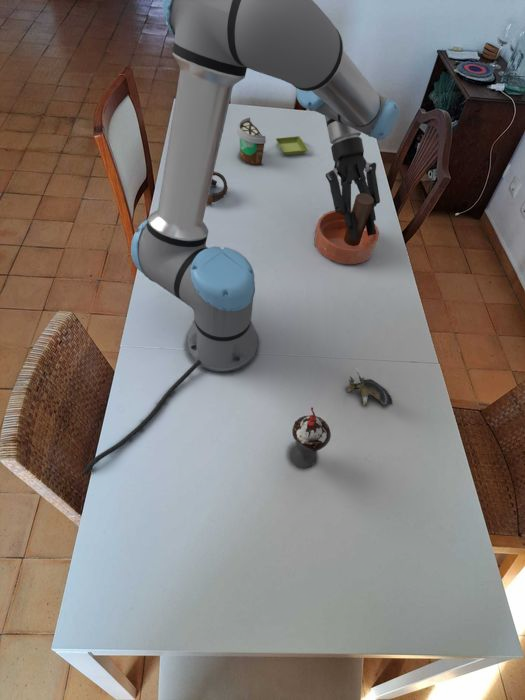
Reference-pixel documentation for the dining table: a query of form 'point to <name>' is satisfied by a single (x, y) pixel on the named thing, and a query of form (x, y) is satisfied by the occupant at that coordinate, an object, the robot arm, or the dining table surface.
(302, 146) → the saucer
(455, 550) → the dining table surface
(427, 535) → the dining table surface
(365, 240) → the bowl
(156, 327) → the dining table surface
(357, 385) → the animal figurine
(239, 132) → the food container
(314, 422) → the sundae
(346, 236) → the pestle
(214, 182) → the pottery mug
